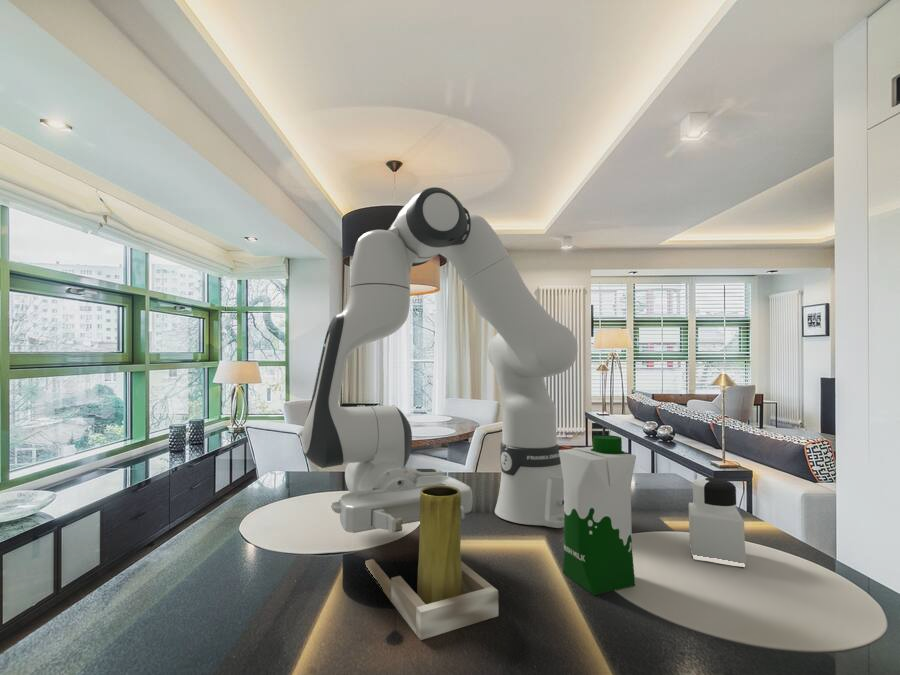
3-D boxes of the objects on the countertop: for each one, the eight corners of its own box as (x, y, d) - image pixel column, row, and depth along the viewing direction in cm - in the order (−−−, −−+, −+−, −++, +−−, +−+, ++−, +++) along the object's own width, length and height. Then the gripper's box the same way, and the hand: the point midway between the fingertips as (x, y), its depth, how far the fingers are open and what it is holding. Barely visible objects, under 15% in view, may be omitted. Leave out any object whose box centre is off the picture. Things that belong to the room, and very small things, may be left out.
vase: (455, 621, 54) (455, 499, 55) (408, 612, 56) (409, 494, 56) (469, 596, 60) (469, 486, 60) (426, 589, 61) (426, 482, 62)
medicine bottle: (738, 551, 74) (736, 477, 75) (746, 569, 68) (743, 488, 68) (689, 543, 77) (687, 472, 78) (692, 560, 71) (690, 482, 71)
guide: (427, 553, 73) (428, 534, 73) (498, 615, 55) (498, 590, 55) (365, 567, 68) (365, 547, 68) (420, 640, 50) (420, 612, 50)
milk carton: (645, 588, 62) (642, 440, 63) (592, 600, 59) (589, 445, 60) (601, 561, 70) (599, 432, 71) (552, 571, 67) (551, 435, 68)
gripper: (328, 482, 68) (355, 508, 56) (447, 467, 78) (491, 487, 66) (327, 524, 68) (354, 559, 56) (447, 504, 78) (491, 531, 66)
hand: (429, 520), depth 61 cm, fingers open, 8 cm apart
